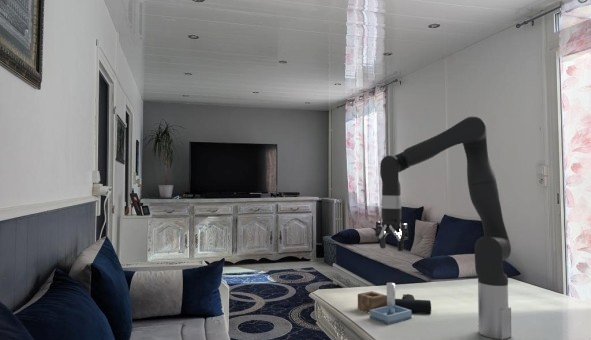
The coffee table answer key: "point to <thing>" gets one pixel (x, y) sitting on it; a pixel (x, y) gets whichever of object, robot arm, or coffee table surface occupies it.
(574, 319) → the coffee table surface
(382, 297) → the pin block
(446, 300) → the coffee table surface
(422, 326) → the coffee table surface
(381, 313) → the tray
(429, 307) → the pipe connector
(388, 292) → the pin
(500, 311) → the robot arm
